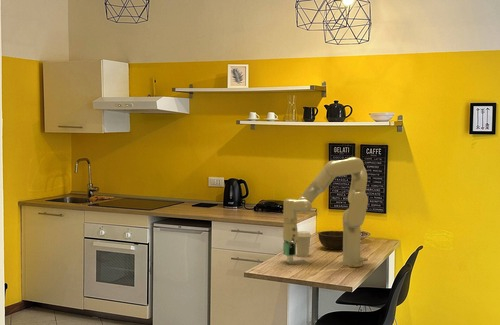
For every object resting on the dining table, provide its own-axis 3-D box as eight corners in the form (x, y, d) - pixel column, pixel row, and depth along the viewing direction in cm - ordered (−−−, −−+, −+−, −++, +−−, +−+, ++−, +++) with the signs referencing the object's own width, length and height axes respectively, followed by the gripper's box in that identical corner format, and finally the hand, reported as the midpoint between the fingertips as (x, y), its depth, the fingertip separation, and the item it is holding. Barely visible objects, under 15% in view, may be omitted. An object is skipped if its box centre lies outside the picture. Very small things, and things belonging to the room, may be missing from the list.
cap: (291, 253, 327) (291, 241, 327) (295, 255, 322) (295, 243, 322) (283, 254, 325) (283, 242, 325) (287, 255, 320) (287, 244, 320)
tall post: (291, 262, 326) (291, 253, 325) (293, 263, 323) (293, 254, 323) (286, 262, 325) (286, 253, 324) (288, 263, 322) (288, 254, 322)
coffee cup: (291, 257, 345) (291, 232, 344) (301, 255, 352) (301, 230, 351) (304, 260, 338) (304, 234, 337) (314, 257, 345) (314, 232, 344)
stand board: (303, 261, 333) (303, 259, 333) (311, 265, 323) (311, 263, 323) (281, 263, 328) (281, 261, 328) (288, 267, 318) (288, 265, 318)
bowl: (352, 246, 380) (352, 231, 379) (352, 253, 358) (352, 236, 358) (319, 245, 384) (319, 230, 383) (317, 251, 362) (317, 235, 362)
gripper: (303, 223, 316) (302, 256, 317) (289, 218, 332) (289, 250, 333) (290, 223, 314) (290, 257, 314) (277, 219, 330) (277, 251, 330)
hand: (289, 253), depth 324 cm, fingers closed on cap, 5 cm apart
